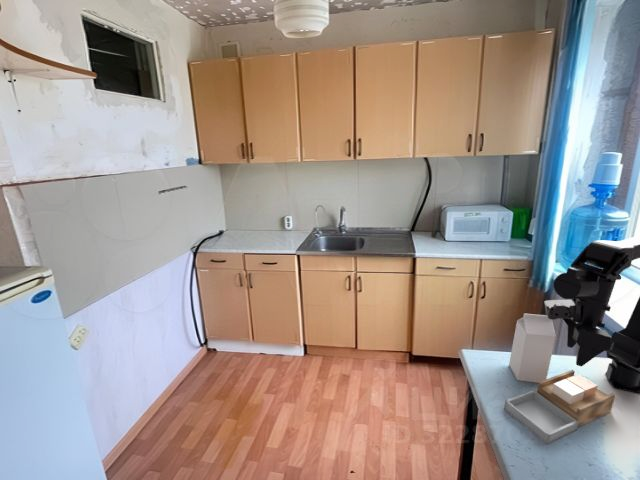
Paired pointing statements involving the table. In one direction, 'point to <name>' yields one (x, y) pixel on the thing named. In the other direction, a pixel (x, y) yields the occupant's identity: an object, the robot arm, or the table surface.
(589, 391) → the tile
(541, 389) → the wooden box
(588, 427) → the table surface
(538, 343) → the milk carton
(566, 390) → the tile
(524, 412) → the tray
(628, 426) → the table surface
